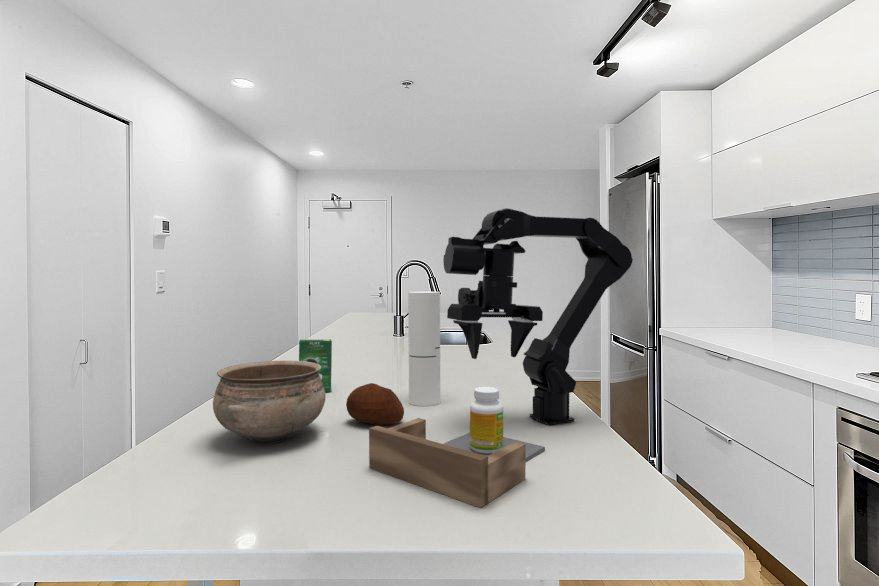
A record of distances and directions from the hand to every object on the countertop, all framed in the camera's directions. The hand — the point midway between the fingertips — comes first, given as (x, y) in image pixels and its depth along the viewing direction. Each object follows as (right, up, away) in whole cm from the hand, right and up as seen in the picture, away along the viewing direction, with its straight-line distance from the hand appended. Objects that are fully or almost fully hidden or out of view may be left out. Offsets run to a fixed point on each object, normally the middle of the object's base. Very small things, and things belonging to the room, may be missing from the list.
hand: (494, 357), depth 94 cm
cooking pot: (-41, -14, -6) cm, 43 cm away
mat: (-2, -14, -13) cm, 19 cm away
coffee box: (-41, -12, +28) cm, 51 cm away
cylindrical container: (-14, -13, +18) cm, 26 cm away
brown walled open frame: (-9, -14, -22) cm, 28 cm away
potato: (-23, -13, +2) cm, 27 cm away
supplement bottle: (-3, -13, -14) cm, 19 cm away
